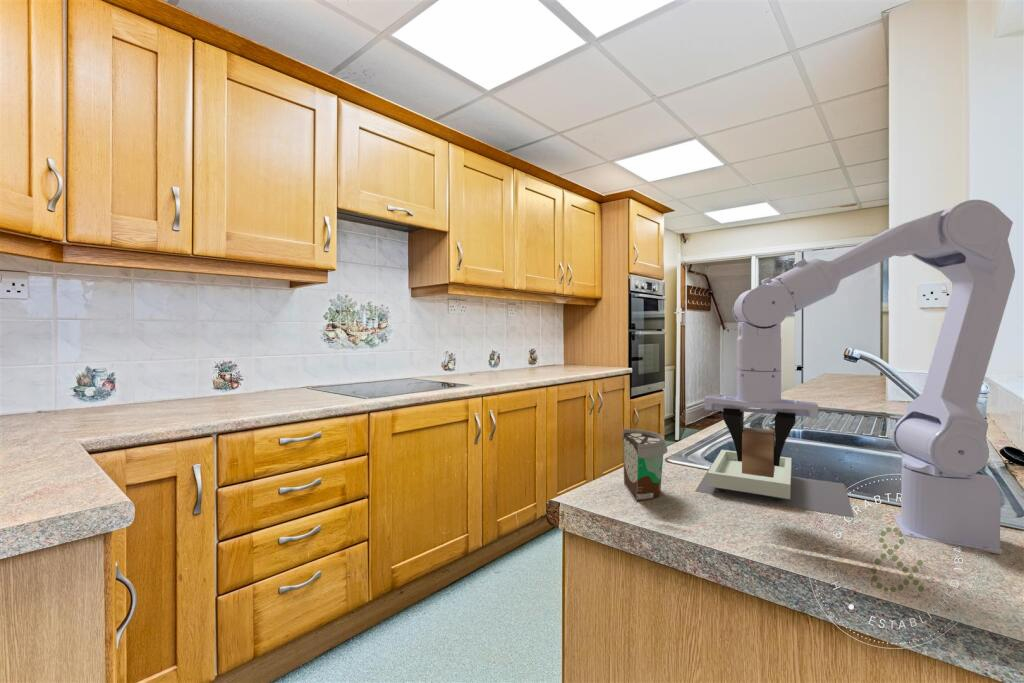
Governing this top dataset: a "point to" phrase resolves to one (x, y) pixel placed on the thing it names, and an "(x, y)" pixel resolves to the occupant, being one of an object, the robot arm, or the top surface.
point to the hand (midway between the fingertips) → (758, 462)
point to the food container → (643, 463)
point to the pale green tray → (749, 477)
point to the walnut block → (758, 452)
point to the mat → (797, 496)
